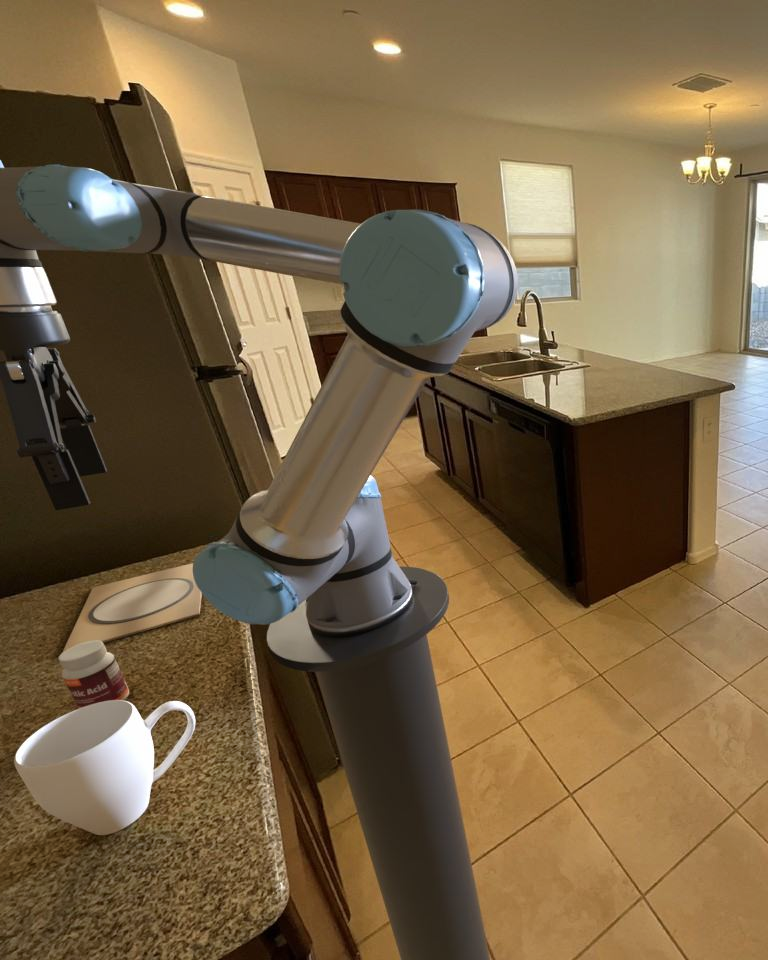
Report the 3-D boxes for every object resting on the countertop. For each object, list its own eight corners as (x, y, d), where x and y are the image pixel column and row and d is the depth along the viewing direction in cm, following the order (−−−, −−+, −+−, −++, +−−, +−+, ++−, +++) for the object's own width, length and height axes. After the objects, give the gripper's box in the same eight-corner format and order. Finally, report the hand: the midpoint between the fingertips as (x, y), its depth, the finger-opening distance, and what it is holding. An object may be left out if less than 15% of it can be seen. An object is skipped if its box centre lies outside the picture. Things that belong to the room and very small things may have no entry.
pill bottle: (72, 721, 65) (44, 667, 62) (91, 695, 69) (65, 644, 66) (121, 709, 67) (96, 656, 64) (137, 684, 71) (113, 634, 68)
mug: (67, 875, 48) (12, 786, 44) (60, 819, 53) (11, 735, 49) (224, 786, 57) (190, 704, 52) (206, 744, 62) (174, 667, 58)
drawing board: (205, 561, 103) (204, 559, 102) (199, 615, 86) (198, 612, 86) (93, 589, 94) (92, 586, 94) (63, 654, 77) (61, 651, 77)
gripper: (-8, 306, 64) (62, 468, 72) (-95, 317, 46) (10, 533, 53) (78, 304, 68) (135, 457, 76) (30, 313, 50) (111, 514, 57)
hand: (84, 489), depth 65 cm, fingers open, 13 cm apart
